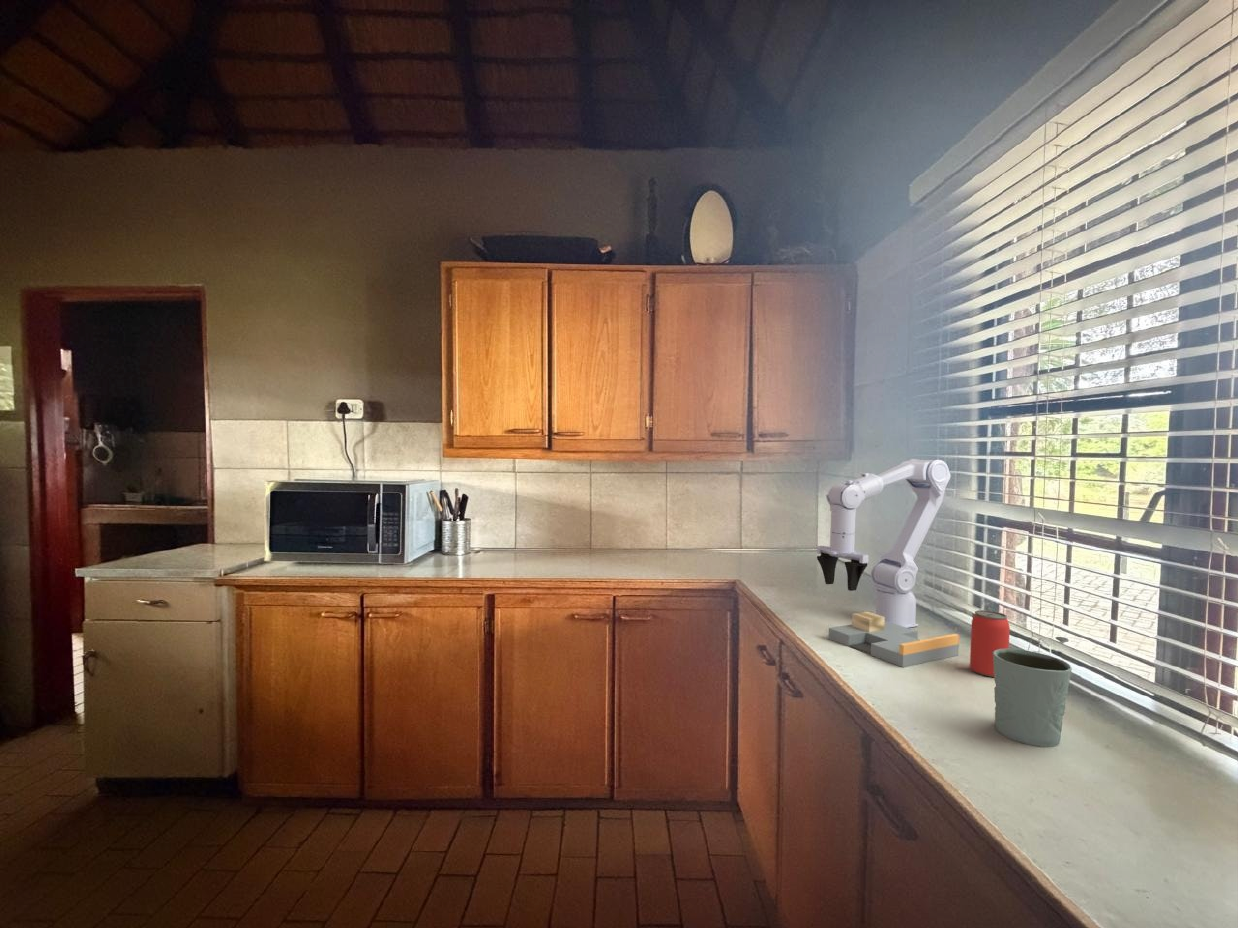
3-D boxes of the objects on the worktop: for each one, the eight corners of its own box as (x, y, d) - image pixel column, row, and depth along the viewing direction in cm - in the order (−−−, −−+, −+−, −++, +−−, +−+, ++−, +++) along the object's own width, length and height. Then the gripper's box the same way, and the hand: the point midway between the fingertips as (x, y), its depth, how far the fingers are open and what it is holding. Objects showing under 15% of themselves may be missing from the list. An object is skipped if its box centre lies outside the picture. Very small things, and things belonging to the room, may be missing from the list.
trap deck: (881, 629, 148) (882, 611, 148) (958, 655, 130) (959, 635, 130) (828, 638, 140) (829, 619, 140) (902, 667, 122) (903, 645, 122)
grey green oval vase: (976, 724, 97) (979, 651, 97) (1016, 715, 101) (1019, 645, 101) (1041, 754, 88) (1044, 674, 87) (1083, 742, 92) (1086, 665, 91)
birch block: (866, 623, 144) (867, 611, 144) (884, 629, 140) (884, 616, 140) (851, 626, 142) (852, 613, 142) (869, 632, 138) (869, 619, 138)
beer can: (972, 675, 119) (975, 615, 119) (967, 664, 125) (969, 607, 125) (1011, 680, 116) (1013, 619, 116) (1003, 669, 122) (1006, 611, 122)
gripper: (809, 529, 153) (807, 582, 153) (854, 537, 140) (852, 594, 140) (829, 528, 156) (827, 579, 156) (875, 536, 143) (873, 592, 143)
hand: (840, 586), depth 148 cm, fingers open, 7 cm apart
